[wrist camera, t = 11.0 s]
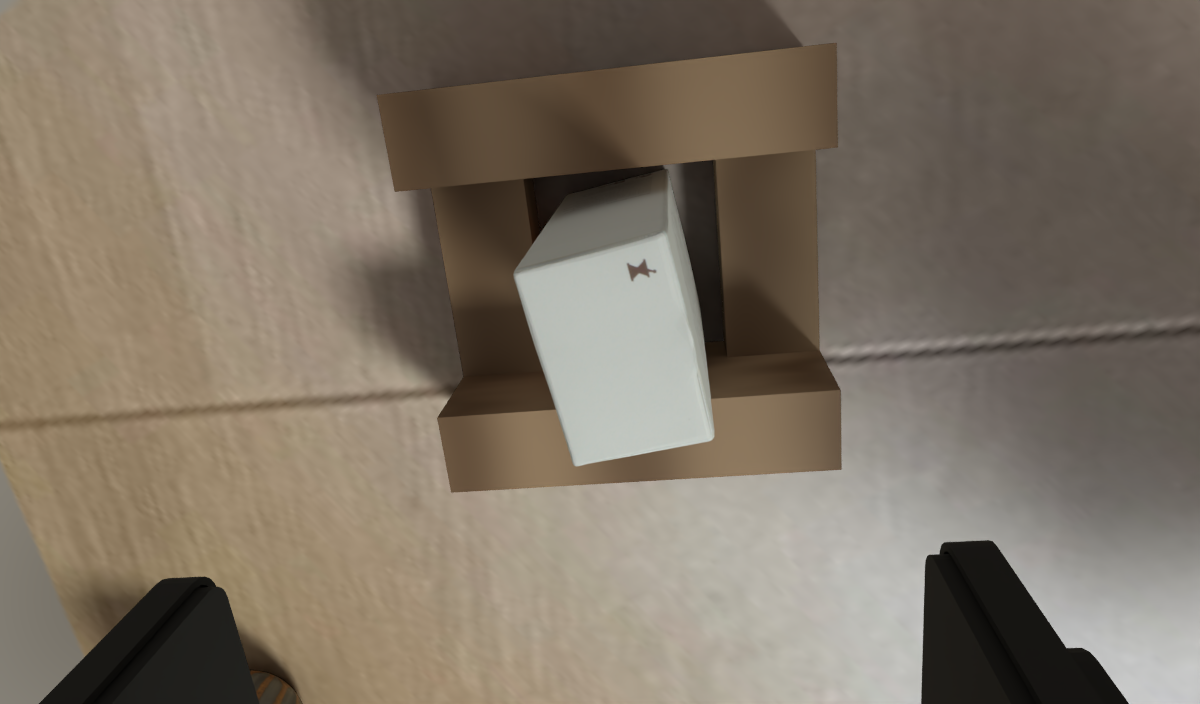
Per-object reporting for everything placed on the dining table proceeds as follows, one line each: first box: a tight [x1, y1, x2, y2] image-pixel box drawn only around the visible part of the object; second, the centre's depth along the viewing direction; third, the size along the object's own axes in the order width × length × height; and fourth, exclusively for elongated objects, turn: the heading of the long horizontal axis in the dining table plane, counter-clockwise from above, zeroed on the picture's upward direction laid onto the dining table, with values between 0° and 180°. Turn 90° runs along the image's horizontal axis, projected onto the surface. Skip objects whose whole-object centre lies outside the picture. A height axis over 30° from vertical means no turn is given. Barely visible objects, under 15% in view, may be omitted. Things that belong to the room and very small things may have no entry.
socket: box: [377, 43, 842, 492], centre depth 30 cm, size 14×14×6 cm
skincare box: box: [513, 169, 714, 466], centre depth 27 cm, size 6×4×12 cm
